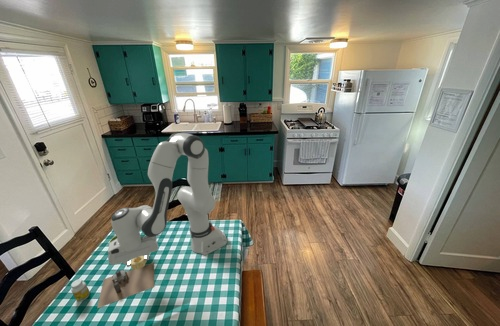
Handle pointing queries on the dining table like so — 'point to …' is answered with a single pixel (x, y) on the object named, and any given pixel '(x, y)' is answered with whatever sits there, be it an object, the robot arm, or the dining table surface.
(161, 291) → the dining table surface
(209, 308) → the dining table surface
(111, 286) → the gear board
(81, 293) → the supplement bottle
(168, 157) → the robot arm
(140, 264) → the loose gear
